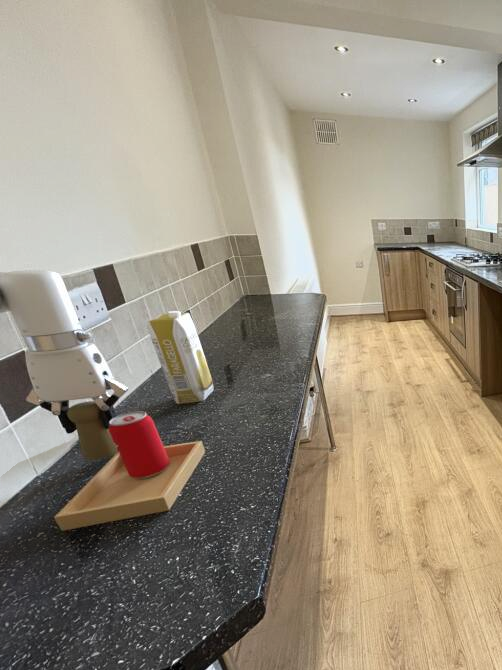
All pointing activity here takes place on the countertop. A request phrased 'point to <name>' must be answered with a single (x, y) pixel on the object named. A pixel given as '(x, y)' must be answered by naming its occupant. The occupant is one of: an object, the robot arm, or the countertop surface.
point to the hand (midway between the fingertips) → (92, 427)
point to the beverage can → (138, 444)
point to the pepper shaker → (91, 431)
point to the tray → (130, 490)
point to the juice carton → (181, 356)
